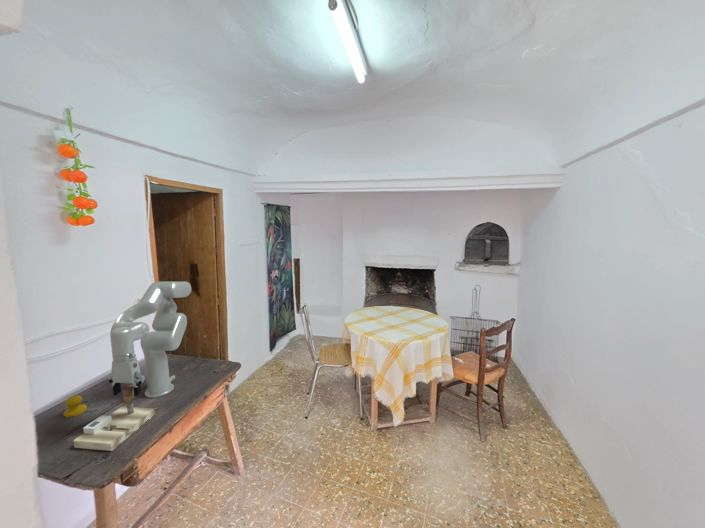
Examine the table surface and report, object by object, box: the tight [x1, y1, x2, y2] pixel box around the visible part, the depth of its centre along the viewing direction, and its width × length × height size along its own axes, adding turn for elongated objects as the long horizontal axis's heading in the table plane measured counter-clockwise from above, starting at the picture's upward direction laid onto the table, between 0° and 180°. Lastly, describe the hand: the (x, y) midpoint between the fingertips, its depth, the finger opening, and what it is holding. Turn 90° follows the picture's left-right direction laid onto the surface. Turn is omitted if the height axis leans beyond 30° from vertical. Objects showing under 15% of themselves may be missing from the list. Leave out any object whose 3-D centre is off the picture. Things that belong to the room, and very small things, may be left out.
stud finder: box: [82, 414, 112, 434], centre depth 126 cm, size 8×4×2 cm, turn 173°
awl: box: [121, 384, 136, 414], centre depth 134 cm, size 4×4×12 cm
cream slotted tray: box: [72, 405, 156, 452], centre depth 129 cm, size 22×16×3 cm
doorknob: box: [63, 394, 88, 418], centre depth 140 cm, size 8×8×8 cm
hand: (127, 394), depth 133 cm, fingers open, 9 cm apart
